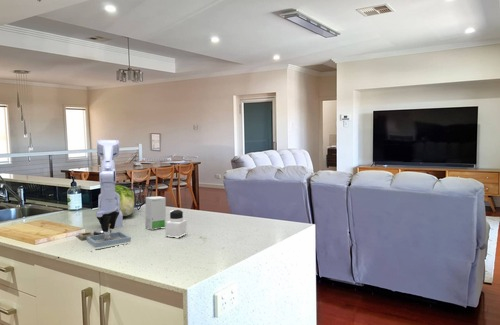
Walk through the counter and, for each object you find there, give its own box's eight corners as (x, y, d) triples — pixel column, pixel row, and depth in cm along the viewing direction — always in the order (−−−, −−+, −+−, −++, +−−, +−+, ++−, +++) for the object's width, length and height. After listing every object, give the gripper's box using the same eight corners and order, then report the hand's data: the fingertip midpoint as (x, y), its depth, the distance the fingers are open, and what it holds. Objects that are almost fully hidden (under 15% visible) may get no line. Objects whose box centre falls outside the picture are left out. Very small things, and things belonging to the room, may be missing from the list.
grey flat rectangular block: (106, 233, 182) (106, 226, 181) (114, 238, 174) (114, 231, 174) (74, 238, 172) (74, 231, 172) (81, 243, 165) (81, 236, 165)
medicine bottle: (186, 235, 181) (186, 209, 180) (179, 238, 175) (179, 212, 174) (173, 233, 184) (173, 208, 183) (165, 237, 177) (165, 211, 176)
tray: (120, 238, 174) (120, 231, 174) (130, 244, 165) (130, 237, 165) (86, 243, 165) (86, 236, 165) (95, 250, 156) (95, 243, 156)
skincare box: (150, 230, 188) (150, 199, 187) (144, 228, 193) (144, 197, 191) (166, 228, 193) (166, 197, 192) (159, 225, 198) (159, 195, 197)
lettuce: (111, 207, 201) (138, 185, 211) (87, 194, 214) (113, 174, 224) (125, 230, 212) (150, 208, 222) (102, 217, 225) (126, 196, 235)
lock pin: (107, 240, 167) (105, 222, 167) (113, 241, 166) (112, 222, 166) (102, 243, 164) (100, 224, 164) (108, 243, 163) (106, 224, 162)
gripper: (108, 195, 171) (109, 225, 173) (89, 201, 157) (89, 233, 158) (123, 196, 170) (123, 226, 171) (105, 202, 156) (105, 235, 157)
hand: (108, 230), depth 165 cm, fingers open, 4 cm apart
